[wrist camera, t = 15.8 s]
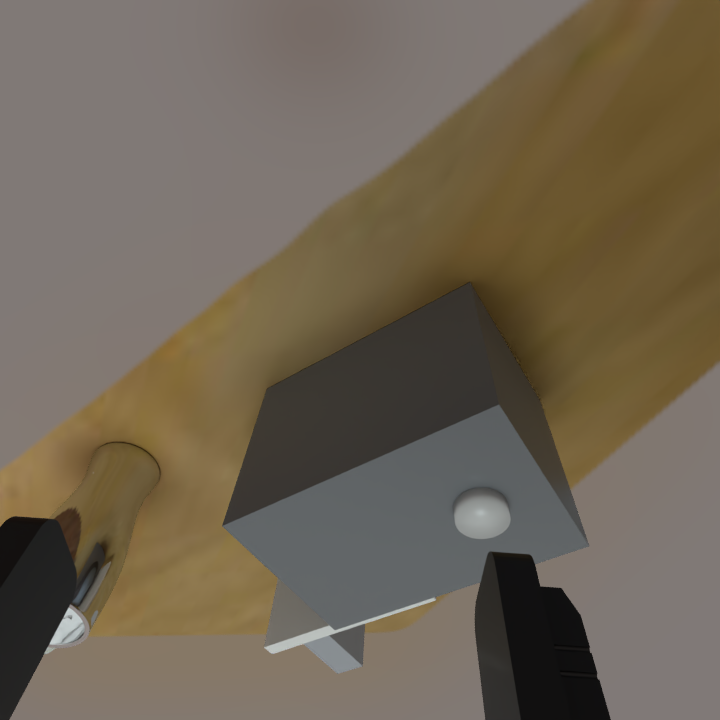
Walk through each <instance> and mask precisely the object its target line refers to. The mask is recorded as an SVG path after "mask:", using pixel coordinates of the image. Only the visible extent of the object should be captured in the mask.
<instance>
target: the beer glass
mask: <svg viewBox="0 0 720 720" xmlns="http://www.w3.org/2000/svg"><path fill="white" fill-rule="evenodd" d="M159 478H160V470H159V467H158V465H157V463H156V461H155V460H154V459H153V458H152V456H151V455H149V454H148V453H147V452H146V451H144V450H142V449H141V448H139V447H136V446H134V445H131V444H127V443H109V444H105V445H103V446H101V447H100V448H98V449H97V450H96V451H95V452H94V454H93V456H92V458H91V461H90V463H89V466H88V469H87V472H86V474H85V477H84V479H83V480H82V482H81V484H80V485H79V486H78V488H77V489H76V490H75V491H74V492H73V493H72V494H71V496H70V497H69V498H68V499H67V500H66V501H65V502H64V503H63V504H62V505H61V506H60V507H59V508H58V509H57V510H56V511H55V512H54V513H53V514H52V515H51V516H50V517H49V518H48V519H55V520H57V521H58V522H59V524H60V526H61V528H62V531H63V534H64V537H65V539H66V542H67V545H68V548H69V551H70V553H71V556H72V559H73V562H74V564H75V567H76V571H77V584H76V590H75V593H74V597H73V599H72V602H71V604H70V606H69V608H68V610H67V612H66V614H65V615H64V617H63V619H62V621H61V623H60V625H59V627H58V629H57V631H56V632H55V634H54V636H53V638H52V640H51V642H50V644H49V646H48V647H49V648H67V647H71V646H75V645H78V644H80V643H82V642H83V641H84V640H85V639H86V638H87V637H88V635H89V632H90V630H91V628H92V627H93V625H94V623H95V621H96V620H97V618H98V616H99V615H100V613H101V611H102V609H103V608H104V606H105V604H106V602H107V600H108V599H109V597H110V595H111V593H112V591H113V589H114V587H115V585H116V582H117V580H118V578H119V575H120V573H121V571H122V568H123V565H124V562H125V559H126V555H127V552H128V548H129V545H130V541H131V537H132V533H133V529H134V525H135V521H136V518H137V515H138V512H139V510H140V507H141V506H142V504H143V502H144V500H145V499H146V497H147V496H148V495H149V494H150V492H151V491H152V490H153V489H154V487H155V486H156V485H157V483H158V481H159Z"/></svg>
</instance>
